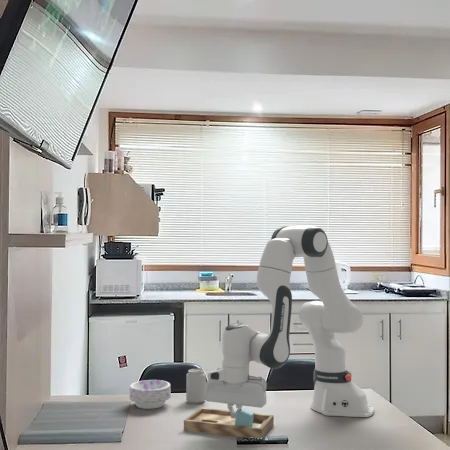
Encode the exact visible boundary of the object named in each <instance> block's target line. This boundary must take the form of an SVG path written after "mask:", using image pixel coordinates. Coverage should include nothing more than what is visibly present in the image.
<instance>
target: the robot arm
mask: <svg viewBox="0 0 450 450" xmlns="http://www.w3.org/2000/svg"><path fill="white" fill-rule="evenodd" d="M331 247H332V246H331V244H330V242H329V239H328V237H327V234H326V232H325V231H324V230H323V229H322V228H321V227H318V226H313V225H294V226H293V225H292V226H281V227H278V228H276V230H275V229H274V231H273V232H272V235H271V237H270V240H269V241H268V242H267V243H266V245H265V247H264V249H263V252H262V255H261V258H260V261H259V266H258V268H257V269H258V270H257V274H256V285H257V288H258V290H259V291H260V292H261V293H262V294H263V295H264V297H265V298H267V299H268V300H269V302H270V305H271V307H272V309H271V310H272V315H271V323H270V331H269V334H267V333H265V332H261V331H258V330H256V329H253V328H252V327H250V326H249V325H248V324H247V323H245V322H235V323H230V324H228V325H227V326H225V329H224V331H223V335H222V349H221V351H222V356H223V359H222V362H221V367H220V368H215V369H213V370H211V371H209V372H208V373H207V374H206V378H207V379H208V380H206V385H205V393H204V398H205V401H206V402H211V403H217V404H218V403H219V404H227V409H228V411H230V413H231V418H234V419H236V414H237V412H238V411H239V410H240V409H241V408H243V406H244V407H252V408H260V409H261V408H264V407H265V405H267V388H268V387H267V385H268V384H267V381H266V379H264V378H263V377H262V376H254V375H250V362H255V363H258V364H261V365H264V366H266V367H268V368H270V369H272V370H273V369H274V370H276V369H280V368H282V367H283V366H285V364H287V362H288V360H289V358H290V355H291V343H290V330H291V321H292V320H291V319H292V309H293V306H292V305H293V294H292V291H291V288H290V287H291V285H290V283H291V282H290V281H291V275H292V271H293V264H294V263H293V262H294V260H295V258H303V263H304V270H305V275H306V280H307V283H308V284H307V285H308V288H309V291H310V292H311V293H312V295H314V296H316V297H317V298H318V299H319V300H313V301H312V300H311V301H306V302H304V303H303V304H301V307H300V309H299V311H298V318H299V321H300V323H301V325H302V326H303V327H304V328H305V329H306V331H307V332H308V333H309V335H310V338H311V341H312V343H313V348H314V365H315V367H314V369H313V384H314V387H313V388H314V389H313V396H312V402H311V405H310V408H311V410H313V411H315V412H318V413H320V414H322V415H323V416H329V417H330V416H332V417H350V418H352V417H354V418H369V417H371V416H372V415H374V413H375V409H374V406H373V405H372V404H369V403H368V398H367V394H366V392H365V391H364V390H363V389H362V388H360V387H359V386H358V385H357V384H355V383H354V382H353V381H352V372H351V371H349V370H347V369H346V368H347V367H346V366H347V365H346V364H347V363H346V358H347V356H346V354H347V353H346V349H345V346H344V345H343V344H342V343H340V342H339V341H338V340H337V337H336V336H335V334H343V335H346V334H354V333H356V334H357V333H358V332H359V331H360V330H361V328H362V326H363V323H364V316H363V313H362V310H361V309H360V307H359V306H357V305H356V304H354V303H353V302H352V301H351V300H350V299H349V297H348V296H347V294H346V293H345V292H344V290H343V287H342V286H341V282H340V279H339V275H338V271H337V270H338V269H337V265H336V261H335V255H334V252H333V250H332V248H331ZM234 406H235V408H236V410H235V409H234V408H233V407H234ZM234 411H236V412H234Z"/></svg>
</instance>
